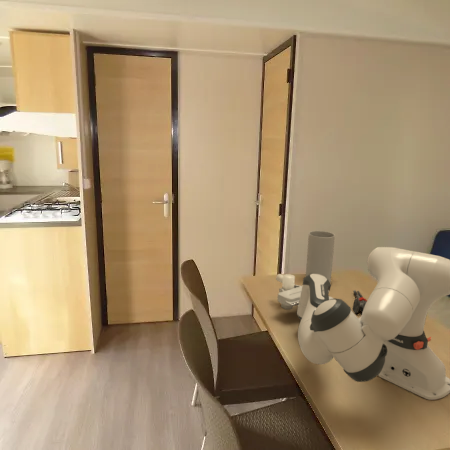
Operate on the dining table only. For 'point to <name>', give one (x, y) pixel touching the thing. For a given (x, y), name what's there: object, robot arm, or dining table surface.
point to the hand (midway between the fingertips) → (286, 287)
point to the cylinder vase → (320, 253)
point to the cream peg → (286, 284)
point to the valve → (358, 302)
